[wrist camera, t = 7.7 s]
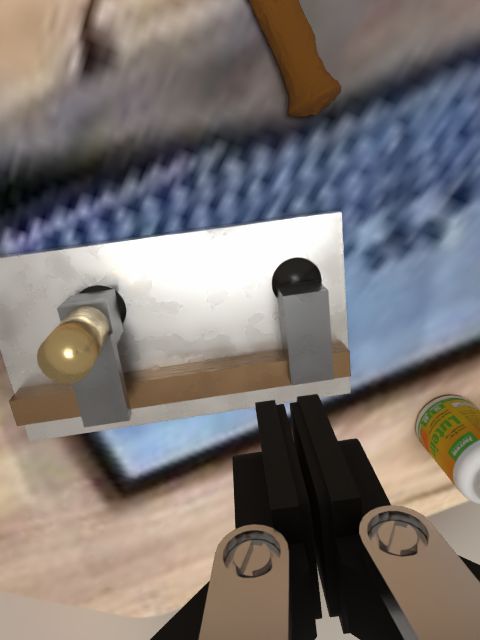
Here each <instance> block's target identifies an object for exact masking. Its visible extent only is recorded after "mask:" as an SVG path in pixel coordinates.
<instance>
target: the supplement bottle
mask: <svg viewBox="0 0 480 640" xmlns="http://www.w3.org/2000/svg"><path fill="white" fill-rule="evenodd" d="M416 433H417V436H418V438H419V440H420V442H421V443H422V444H423V446H424V447H425V448H426V450H427V451H428V452H429V453H430V455H431V456H432V457H433V458H434V460H435V461H436V462H437V463H438V465H439V466H440V467H441V468H442V470H443V471H444V472H445V473H446V475H447V476H448V477H449V478H450V480H451V481H452V482H453V484H454V485H455V486H456V487H457V489H458V490H459V491H460V492H461V493H462V494H463V495H464V496H465V497H466V498H467V499H469V500H471V501H473V502H475V503H479V504H480V410H479V409H478V408H477V407H476V406H475V405H474V404H472V403H471V402H470V401H468V400H467V399H465V398H463V397H460V396H444V397H440V398H437V399H435V400H433V401H432V402H430V403H429V404H428V405H426V406H425V407H424V409H423V410H422V411H421V413H420V414H419V417H418V419H417V423H416Z"/></svg>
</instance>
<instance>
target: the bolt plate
mask: <svg viewBox="0 0 480 640" xmlns="http://www.w3.org/2000/svg"><path fill="white" fill-rule="evenodd" d="M112 289H114V290H115V294H116V299H117V303H118V308H119V312H120V317H121V321H122V326H123V332H122V334H121V337H120V339H119V341H118V343H117V349H118V354H119V358H120V362H121V367H122V371H123V376H124V380H125V384H126V389H127V393H128V398H129V402H130V406H131V411H132V415H131V418H130V421H124V422H118V423H111V424H104V425H98V426H91V427H84V425H83V422H82V418H81V414H80V410H79V407H78V403H77V399H76V396H75V392H74V388H73V385H72V383H69V384H66V383H59V382H56V381H53V380H51V379H50V378H48V377H47V376H46V375H45V374H44V373H43V372H42V371H41V369H40V367H39V365H38V361H37V352H38V349H39V347H40V345H41V344H42V343H43V341H44V340H45V339H46V338H47V337H48V336H49V335H50V334H51V332H52V331H53V330H54V329H55V328H56V327H57V326H58V325H59V324H60V318H59V314H58V310H57V308H58V307H59V306H60V305H61V304H62V303H63V302H64V301H65V300H66V299H67V298H68V297H69V296H70V295H76V294H83V293H90V292H97V291H105V290H112ZM0 350H1V353H2V356H3V359H4V363H5V366H6V369H7V372H8V375H9V378H10V382H11V385H12V388H13V391H14V396H13V397H12V398H11V399H10V401H9V403H10V406H11V409H12V412H13V415H14V418H15V421H16V424H17V426H21V425H24V426H25V429H26V432H27V435H28V438H29V441H35V440H42V439H49V438H55V437H62V436H68V435H75V434H82V433H88V432H95V431H102V430H108V429H115V428H122V427H128V426H135V425H141V424H148V423H155V422H161V421H168V420H175V419H181V418H188V417H195V416H201V415H208V414H214V413H221V412H228V411H234V410H241V409H248V408H254V407H256V406H255V402H262V401H270V400H275V402H276V404H281V403H288V402H294V401H297V397H298V396H305V395H312V394H318V396H319V398H321V397H327V396H334V395H341V394H347V393H350V376H351V371H350V351H349V350H348V332H347V312H346V291H345V271H344V251H343V230H342V212H340V211H337V210H331V211H324V212H316V213H309V214H301V215H294V216H287V217H279V218H272V219H264V220H257V221H250V222H242V223H235V224H227V225H220V226H213V227H205V228H198V229H190V230H183V231H175V232H168V233H161V234H153V235H146V236H138V237H131V238H124V239H116V240H109V241H101V242H94V243H87V244H79V245H72V246H64V247H57V248H50V249H42V250H35V251H27V252H20V253H13V254H5V255H0Z"/></svg>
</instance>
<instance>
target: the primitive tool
mask: <svg viewBox="0 0 480 640" xmlns="http://www.w3.org/2000/svg"><path fill="white" fill-rule="evenodd" d="M249 2H250V4H251V6H252V8H253V11H254V14H255V16H256V17H257V19H258V22H259V25H260V27H261V28H262V30H263V32H264V34H265V36H266V38H267V41H268V44H269V46H271V48H272V51H273V53H274V56H275V58H276V60H277V63H278V65H279V67H280V70H281V73H282V76H283V78H284V81H285V85H286V89H287V90H288V93H289V97H290V102H289V108H288V115H290V116H294V117H296V116H298V117H304V116H308V115H310V114H311V115H317V114H318V112H319V111H321V110H322V109H323V108H325V107H326V106H329V104H330V103H331V102H332V101H334V99H335V98H336V97H337V96H338V94H339V93H340V92H341V86H340V84H339V82H338V81H337V80H335V79H334V78H332V77H331V75H330V74H329V73H328V72H327V71H326V70H325V67H324V65H323V62H322V60H321V59H320V57H319V55H318V53H317V50H316V43H315V35H314V33H313V31H312V28H311V26H310V24H309V23H308V21H307V19H306V17H305V15H304V12H303V10H302V8H301V5H300V2H299V0H249Z"/></svg>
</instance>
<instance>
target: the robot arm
mask: <svg viewBox="0 0 480 640" xmlns="http://www.w3.org/2000/svg"><path fill="white" fill-rule="evenodd" d="M255 406H256V413H257V420H258V427H259V434H260V442H261V449H262V452H256V453H249V454H242V455H235V456H233V480H234V503H235V527H236V529H235V530H233V531H231V532H230V533H229V534H227V535H226V536H225V537H224V538H223V539H222V541H221V542H220V543H219V544H218V547H217V550H216V552H215V557H214V562H213V567H212V572H211V578H210V581H209V582H208V583H207V584H206V585H205V586H204V587H203V588H202V589H201V590H200V591H199V592H198V593H197V594H196V595H195V596H194V597H193V598H192V599H191V600H190V601H189V602H188V603H187V604H186V605H185V606H184V607H183V608H182V609H181V610H180V611H179V612H178V613H176V615H174V617H172V618H171V619H170V620H169V621H168V622H167V623H166V624H165V625H164V626H163V627H162V628H161V629H160V630H159V631H158V632H157V633H156V634H155V635H154V636H153V637H152V638H151V639H150V640H315V639H316V637H317V632H316V624H315V623H316V622H315V619H321V618H322V612H321V602H320V592H319V583H318V573H317V567H318V571H319V575H320V579H321V583H322V587H323V592H324V596H325V600H326V604H327V608H328V612H329V616H330V617H336V616H339V619H340V622H341V626H342V630H343V633H344V634H346V633H351V634H352V635H354V636H356V637H357V638H359V639H360V640H480V565H478V564H476V563H474V562H472V561H470V560H467V559H465V558H463V557H461V556H459V555H457V554H456V552H455V551H454V550H453V549H452V548H451V547H450V545H449V544H448V543H447V541H446V540H445V539H444V538H443V536H442V535H441V534H440V533H439V532H438V530H437V529H436V528H435V526H434V525H433V524H432V523H431V522H430V521H429V520H428V519H427V518H426V517H425V516H424V515H422V514H420V513H418V512H417V511H415V510H412V509H409V508H406V507H403V506H392V505H391V504H390V502H389V500H388V498H387V496H386V494H385V492H384V490H383V488H382V486H381V484H380V482H379V480H378V478H377V476H376V474H375V472H374V470H373V468H372V466H371V464H370V462H369V460H368V458H367V456H366V454H365V452H364V450H363V448H362V446H361V444H360V442H359V440H358V439H349V440H342V441H337V439H336V436H335V434H334V431H333V429H332V427H331V424H330V422H329V419H328V417H327V415H326V412H325V410H324V408H323V405H322V403H321V400H320V398H319V396H318V394H312V395H305V396H298V397H297V402H294V403H290V411H291V420H292V428H293V437H294V441H293V437H292V433H291V429H290V426H289V422H288V418H287V414H286V410H285V407H284V404H280V405H276V402H275V400H270V401H262V402H255Z"/></svg>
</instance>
